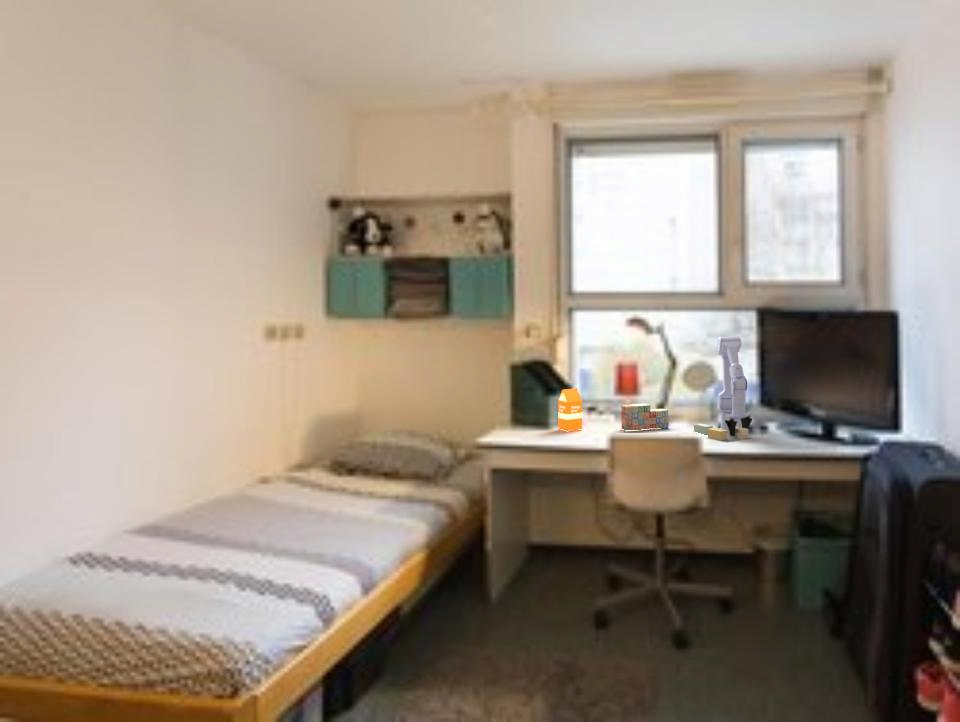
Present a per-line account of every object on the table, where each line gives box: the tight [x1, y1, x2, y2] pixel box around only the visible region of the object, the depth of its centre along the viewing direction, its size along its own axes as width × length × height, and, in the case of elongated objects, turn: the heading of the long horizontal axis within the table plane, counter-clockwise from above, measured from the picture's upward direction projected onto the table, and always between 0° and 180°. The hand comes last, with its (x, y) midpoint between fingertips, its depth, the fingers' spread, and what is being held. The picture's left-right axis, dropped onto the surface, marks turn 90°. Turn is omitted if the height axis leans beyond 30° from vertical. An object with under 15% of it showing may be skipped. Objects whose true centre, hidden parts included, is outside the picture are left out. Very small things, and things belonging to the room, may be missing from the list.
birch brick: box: [728, 427, 750, 439], centre depth 397 cm, size 8×4×4 cm, turn 30°
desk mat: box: [708, 432, 754, 443], centre depth 401 cm, size 16×27×1 cm, turn 29°
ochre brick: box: [707, 427, 728, 441], centre depth 395 cm, size 8×4×4 cm, turn 30°
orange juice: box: [557, 387, 583, 431], centre depth 425 cm, size 8×9×20 cm
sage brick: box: [693, 423, 714, 435], centre depth 407 cm, size 8×4×4 cm, turn 30°
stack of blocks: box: [620, 403, 669, 430], centre depth 423 cm, size 21×6×12 cm, turn 101°
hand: (738, 434), depth 397 cm, fingers open, 7 cm apart
